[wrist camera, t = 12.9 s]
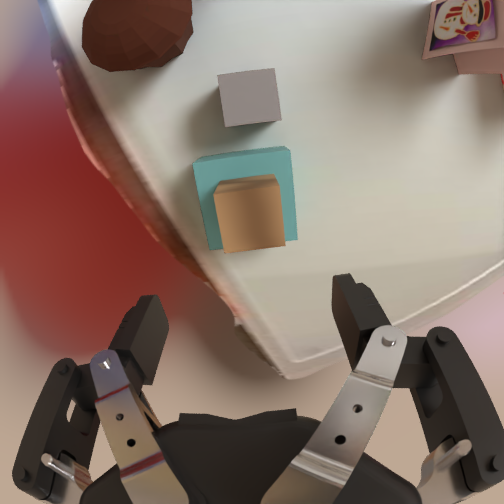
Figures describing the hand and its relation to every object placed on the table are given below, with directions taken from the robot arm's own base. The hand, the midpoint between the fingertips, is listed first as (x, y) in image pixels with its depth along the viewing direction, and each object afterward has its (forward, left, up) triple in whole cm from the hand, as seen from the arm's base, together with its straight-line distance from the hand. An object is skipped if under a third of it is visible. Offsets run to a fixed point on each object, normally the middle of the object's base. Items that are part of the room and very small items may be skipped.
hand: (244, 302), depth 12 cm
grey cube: (-6, +8, -20) cm, 22 cm away
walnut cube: (0, 0, -15) cm, 15 cm away
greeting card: (+6, +34, -20) cm, 40 cm away
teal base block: (0, 0, -20) cm, 20 cm away
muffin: (-20, +9, -20) cm, 30 cm away
